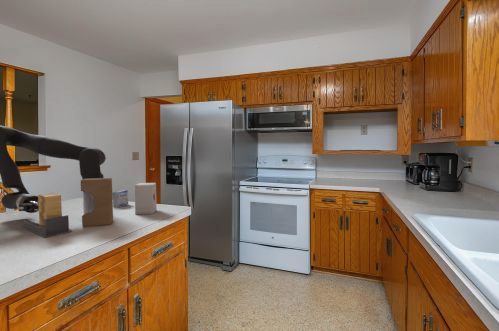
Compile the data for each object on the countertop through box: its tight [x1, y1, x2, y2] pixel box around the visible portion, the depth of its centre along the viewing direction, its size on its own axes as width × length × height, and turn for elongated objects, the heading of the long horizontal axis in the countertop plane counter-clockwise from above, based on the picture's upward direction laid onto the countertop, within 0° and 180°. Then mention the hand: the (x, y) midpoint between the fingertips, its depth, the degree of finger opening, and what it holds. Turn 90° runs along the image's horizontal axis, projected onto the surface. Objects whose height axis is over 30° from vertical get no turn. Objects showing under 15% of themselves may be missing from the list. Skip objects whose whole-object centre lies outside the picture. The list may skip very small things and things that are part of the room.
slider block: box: [37, 192, 63, 227], centre depth 108 cm, size 8×5×14 cm, turn 56°
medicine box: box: [112, 189, 129, 208], centre depth 157 cm, size 8×4×9 cm, turn 168°
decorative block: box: [80, 177, 114, 228], centre depth 118 cm, size 11×6×20 cm, turn 104°
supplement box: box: [134, 182, 157, 215], centre depth 141 cm, size 9×9×15 cm
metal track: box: [21, 215, 72, 239], centre depth 111 cm, size 25×9×7 cm, turn 56°
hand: (45, 207), depth 111 cm, fingers closed
